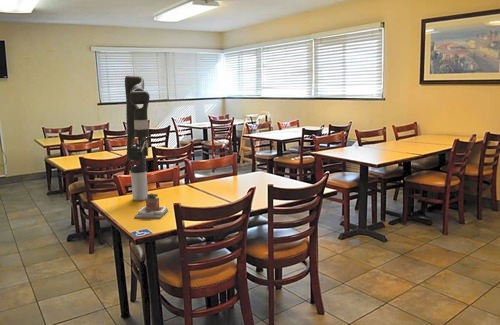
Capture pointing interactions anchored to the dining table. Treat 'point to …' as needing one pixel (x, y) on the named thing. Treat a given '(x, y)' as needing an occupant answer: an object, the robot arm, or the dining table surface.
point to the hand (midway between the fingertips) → (143, 157)
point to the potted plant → (152, 202)
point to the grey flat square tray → (151, 213)
